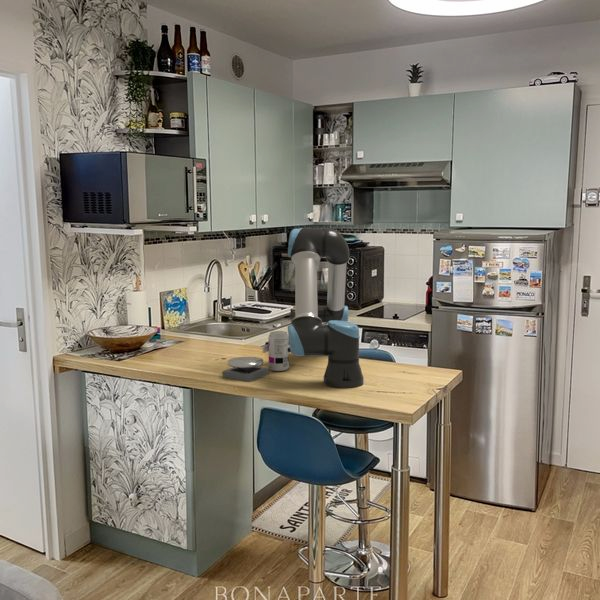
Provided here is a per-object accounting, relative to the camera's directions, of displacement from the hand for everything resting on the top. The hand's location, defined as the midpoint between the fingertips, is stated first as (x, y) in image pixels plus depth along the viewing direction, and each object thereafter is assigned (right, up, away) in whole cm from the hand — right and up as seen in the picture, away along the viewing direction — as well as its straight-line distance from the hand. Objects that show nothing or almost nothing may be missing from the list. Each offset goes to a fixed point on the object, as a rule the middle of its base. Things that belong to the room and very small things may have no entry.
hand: (273, 350), depth 256 cm
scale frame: (-11, -10, -3) cm, 15 cm away
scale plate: (-11, -7, -4) cm, 14 cm away
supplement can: (+2, -8, +5) cm, 10 cm away
